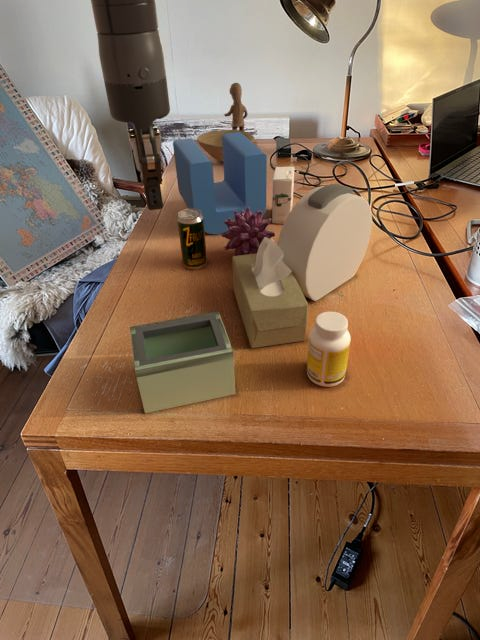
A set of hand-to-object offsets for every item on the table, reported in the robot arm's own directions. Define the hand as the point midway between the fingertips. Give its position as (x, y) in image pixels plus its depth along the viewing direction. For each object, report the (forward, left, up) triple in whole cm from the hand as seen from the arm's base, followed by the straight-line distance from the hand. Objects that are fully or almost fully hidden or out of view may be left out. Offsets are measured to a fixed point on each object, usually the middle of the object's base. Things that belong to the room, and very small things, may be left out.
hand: (155, 207), depth 66 cm
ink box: (+34, +40, -25) cm, 58 cm away
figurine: (+38, +100, -25) cm, 110 cm away
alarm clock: (+32, +9, -25) cm, 41 cm away
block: (+19, +45, -25) cm, 55 cm away
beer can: (+8, +24, -25) cm, 36 cm away
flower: (+20, +23, -25) cm, 40 cm away
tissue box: (+18, +2, -25) cm, 31 cm away
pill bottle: (+22, -16, -25) cm, 37 cm away
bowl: (+30, +85, -25) cm, 94 cm away
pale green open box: (0, -6, -21) cm, 21 cm away
